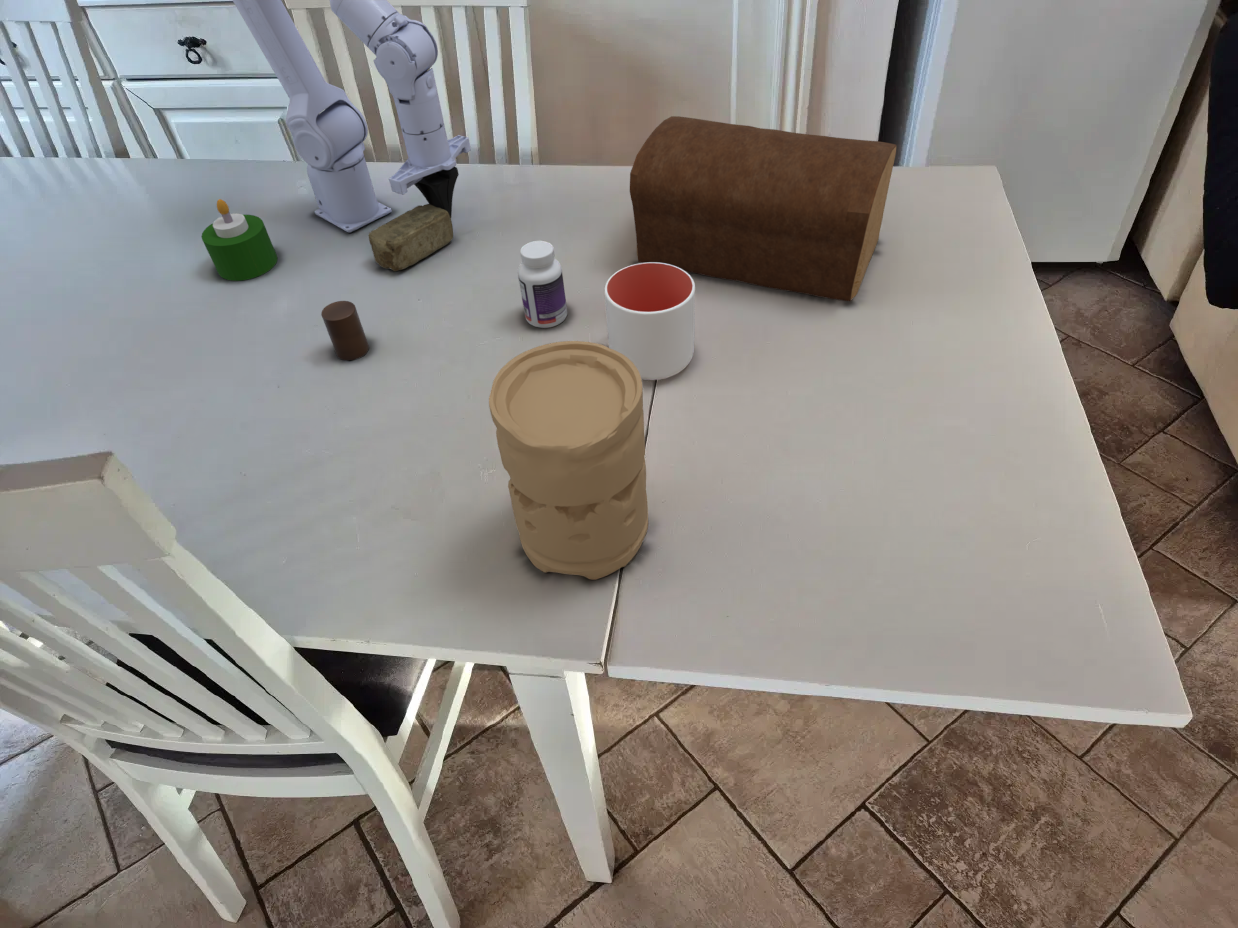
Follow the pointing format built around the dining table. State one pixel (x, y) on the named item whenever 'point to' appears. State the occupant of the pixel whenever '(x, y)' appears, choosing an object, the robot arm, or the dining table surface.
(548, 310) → the pill bottle
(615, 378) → the container
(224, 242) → the candle
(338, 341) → the post
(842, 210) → the bread
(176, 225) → the dining table surface
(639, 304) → the cup
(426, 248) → the stone block
